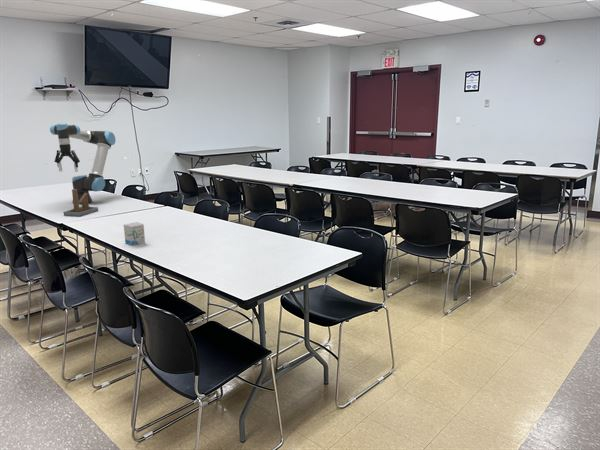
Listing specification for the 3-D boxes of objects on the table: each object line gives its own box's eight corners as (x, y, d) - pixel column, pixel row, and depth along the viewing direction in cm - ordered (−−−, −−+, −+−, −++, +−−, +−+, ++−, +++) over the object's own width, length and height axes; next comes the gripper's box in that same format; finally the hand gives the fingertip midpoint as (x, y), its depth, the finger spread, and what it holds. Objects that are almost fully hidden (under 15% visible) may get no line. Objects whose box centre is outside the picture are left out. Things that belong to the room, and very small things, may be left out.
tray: (82, 210, 363) (82, 206, 363) (98, 210, 360) (98, 207, 360) (64, 215, 344) (63, 211, 343) (80, 216, 340) (79, 212, 340)
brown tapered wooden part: (89, 211, 355) (86, 188, 351) (76, 213, 347) (73, 190, 342) (86, 210, 357) (84, 187, 353) (73, 212, 349) (70, 189, 344)
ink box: (132, 245, 268) (130, 226, 265) (124, 243, 273) (123, 224, 270) (145, 242, 274) (144, 223, 271) (138, 240, 279) (136, 221, 276)
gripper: (46, 144, 350) (51, 171, 356) (76, 144, 346) (80, 172, 352) (53, 143, 357) (57, 170, 363) (82, 143, 353) (86, 171, 359)
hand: (68, 171), depth 357 cm, fingers open, 13 cm apart
